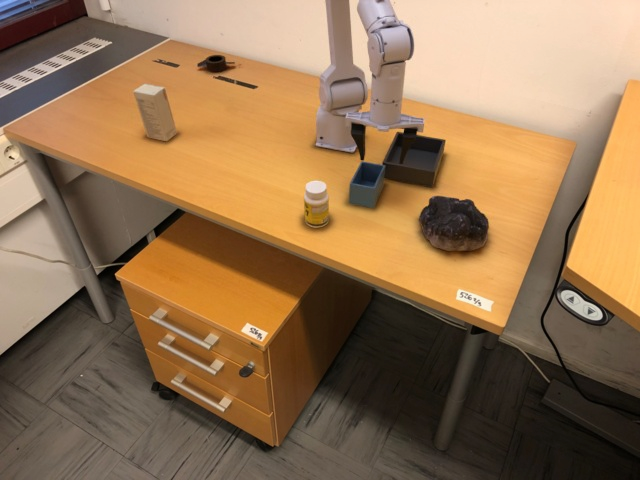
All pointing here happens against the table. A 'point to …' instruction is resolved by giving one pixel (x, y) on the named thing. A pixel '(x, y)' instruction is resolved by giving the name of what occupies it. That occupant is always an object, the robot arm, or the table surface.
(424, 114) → the table surface
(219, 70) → the black ring with tabs
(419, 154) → the charcoal bin
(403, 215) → the table surface
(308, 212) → the supplement bottle
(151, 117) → the cosmetic box
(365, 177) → the blue bin
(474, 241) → the crystal cluster
